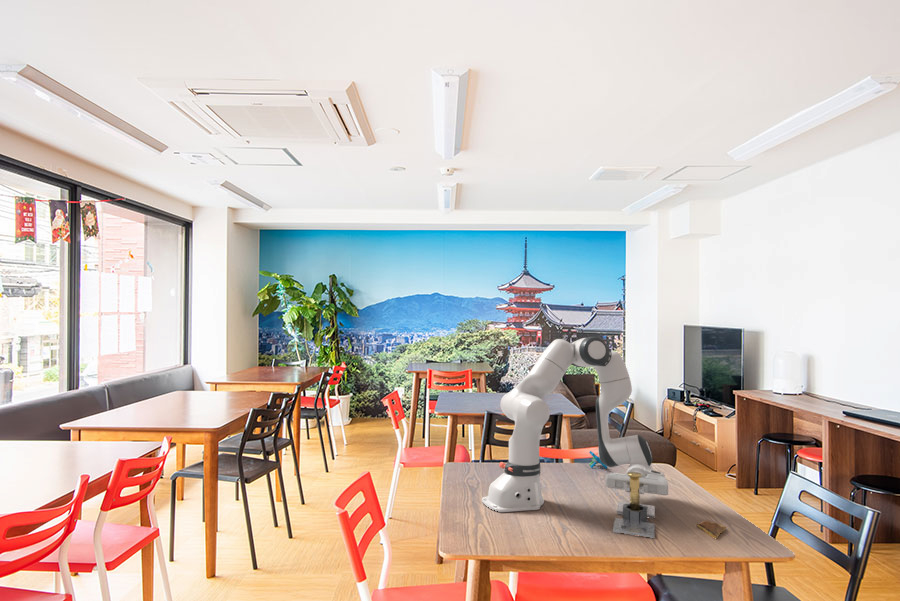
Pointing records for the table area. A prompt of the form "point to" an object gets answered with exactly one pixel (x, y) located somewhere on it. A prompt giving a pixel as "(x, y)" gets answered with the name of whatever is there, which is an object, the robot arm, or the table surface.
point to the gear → (596, 461)
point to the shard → (712, 528)
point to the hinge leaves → (635, 520)
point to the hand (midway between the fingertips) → (634, 490)
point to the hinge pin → (634, 490)
